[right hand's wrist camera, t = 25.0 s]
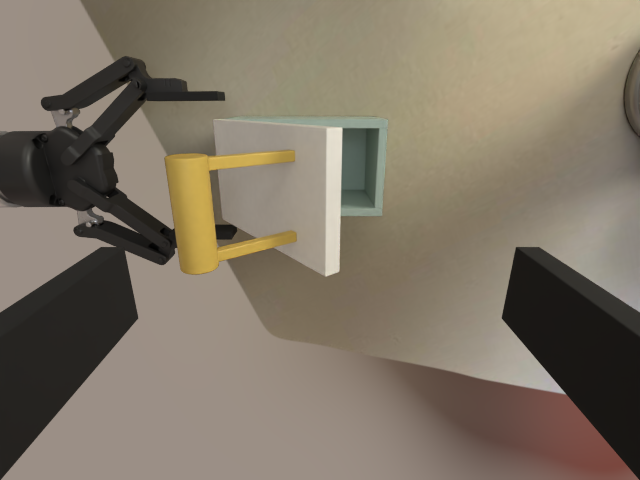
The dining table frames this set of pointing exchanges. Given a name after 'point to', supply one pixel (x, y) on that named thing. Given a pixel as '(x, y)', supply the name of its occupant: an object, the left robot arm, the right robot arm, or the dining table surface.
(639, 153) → the dining table surface
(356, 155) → the chest
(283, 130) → the lid
